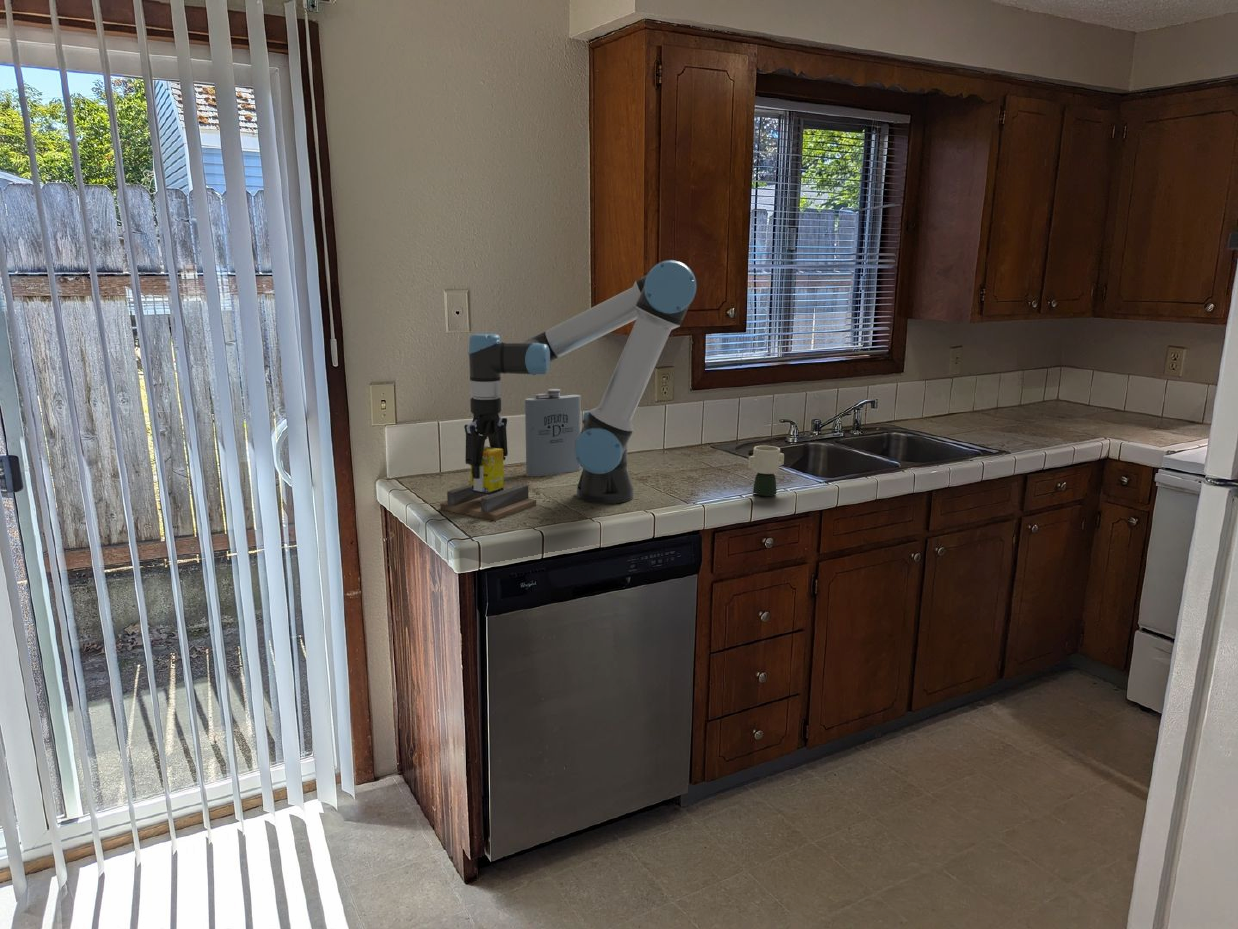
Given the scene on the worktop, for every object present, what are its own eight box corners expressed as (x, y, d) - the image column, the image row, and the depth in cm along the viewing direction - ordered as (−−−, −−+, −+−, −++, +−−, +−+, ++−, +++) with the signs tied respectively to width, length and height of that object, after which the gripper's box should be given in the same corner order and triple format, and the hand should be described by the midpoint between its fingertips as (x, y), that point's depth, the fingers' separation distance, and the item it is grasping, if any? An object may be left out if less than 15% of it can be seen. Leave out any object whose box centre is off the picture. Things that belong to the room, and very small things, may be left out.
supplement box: (470, 492, 217) (469, 449, 214) (485, 487, 222) (485, 445, 219) (489, 495, 214) (488, 452, 211) (504, 490, 219) (503, 448, 216)
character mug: (774, 490, 237) (777, 444, 234) (789, 496, 231) (791, 449, 228) (740, 493, 233) (742, 447, 230) (753, 500, 227) (756, 452, 224)
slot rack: (536, 505, 221) (535, 486, 220) (495, 520, 207) (495, 500, 206) (482, 495, 230) (482, 477, 229) (440, 509, 217) (439, 490, 216)
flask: (531, 477, 249) (529, 392, 243) (524, 474, 253) (523, 389, 247) (584, 470, 257) (583, 387, 252) (576, 467, 261) (576, 385, 255)
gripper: (498, 391, 222) (500, 478, 227) (447, 400, 206) (450, 493, 212) (521, 393, 218) (522, 482, 223) (471, 403, 202) (473, 498, 208)
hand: (487, 487), depth 218 cm, fingers closed on supplement box, 6 cm apart
